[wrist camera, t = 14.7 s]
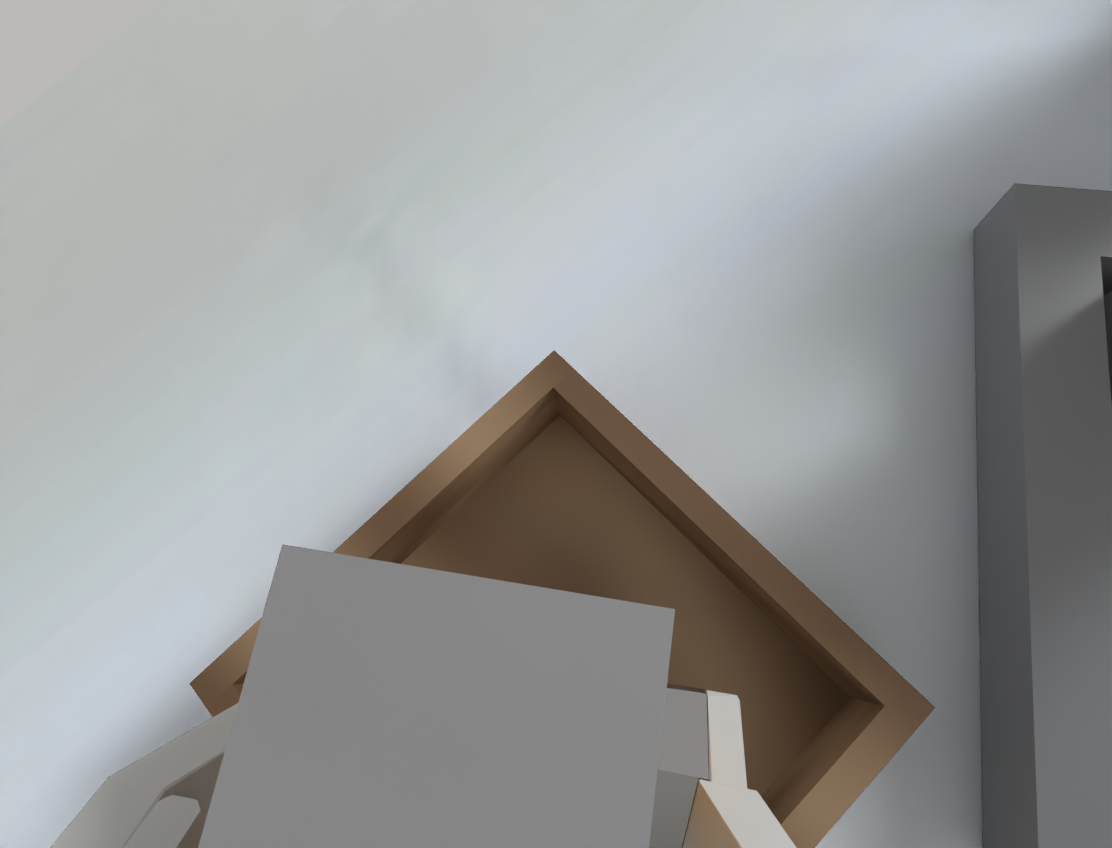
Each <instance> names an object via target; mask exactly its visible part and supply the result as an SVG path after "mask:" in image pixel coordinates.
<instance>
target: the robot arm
mask: <svg viewBox="0 0 1112 848" xmlns="http://www.w3.org/2000/svg"><path fill="white" fill-rule="evenodd" d="M237 706H238V703H237V704H235V705H234V706H232V707H230V708H228V709H227V710H225V711H223V712H221V713H220V714H218V715H216V716H214V717H213V718H211V719H209V720H207V721H206V722H204V723H202V724H200V725H199V726H197V727H195V728H194V729H192V730H190V731H188V732H187V733H185V734H183V735H181V736H180V737H178V738H176V739H174V740H173V741H171V742H169V743H167V744H166V745H164V746H162V747H160V748H159V749H157V750H155V751H153V752H152V753H150V754H148V755H147V756H145V757H143V758H141V759H140V760H138V761H136V762H134V763H133V764H131V765H129V766H127V767H126V768H124V769H122V770H120V771H119V772H117V773H115V774H113V775H112V776H110V777H108V778H107V780H106V781H105V782H104V783H103V784H102V786H101V787H100V788H99V789H98V791H97V792H96V793H95V794H94V795H93V797H92V798H91V799H90V800H89V801H88V803H87V804H86V805H85V806H84V807H83V809H82V810H81V811H80V812H79V814H78V815H77V816H76V817H75V818H74V820H73V821H72V822H71V823H70V824H69V826H68V827H67V828H66V829H65V830H64V832H63V833H62V834H61V835H60V836H59V838H58V839H57V840H56V841H55V843H54V844H53V845H52V846H51V847H50V848H198V846H199V843H200V839H201V835H202V832H203V828H204V825H205V821H206V817H207V814H208V810H209V807H210V803H211V799H212V796H213V792H214V789H215V785H216V781H217V778H218V774H219V771H220V767H221V763H222V760H223V756H224V753H225V749H226V746H227V742H228V738H229V735H230V731H231V728H232V724H233V720H234V717H235V713H236V710H237ZM649 847H652V848H796V846H795V845H794V843H793V842H792V840H791V839H790V838H789V836H788V835H787V833H786V832H785V830H784V829H783V827H782V826H781V825H780V823H779V822H778V820H777V819H776V817H775V816H774V815H773V813H772V812H771V810H770V809H769V807H768V806H767V804H766V803H765V802H764V800H763V799H762V797H761V796H760V794H759V793H758V792H757V791H756V790H751V789H747V780H746V768H745V756H744V744H743V732H742V720H741V708H740V700H739V698H738V696H737V695H732V694H726V693H721V692H715V691H709V690H706V691H705V690H704V689H699V688H693V687H687V686H681V685H675V684H669V683H667V689H666V698H665V707H664V716H663V725H662V735H661V744H660V753H659V762H658V771H657V780H656V789H655V798H654V807H653V817H652V826H651V835H650V844H649Z"/></svg>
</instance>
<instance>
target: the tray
mask: <svg viewBox="0 0 1112 848" xmlns="http://www.w3.org/2000/svg"><path fill="white" fill-rule="evenodd" d="M333 553H337V554H343V555H349V556H355V557H361V558H367V559H373V560H379V561H385V562H392V563H398V564H404V565H410V566H416V567H422V568H428V569H434V570H440V571H446V572H452V573H458V574H464V575H471V576H477V577H483V578H489V579H495V580H501V581H507V582H513V583H519V584H525V585H531V586H537V587H543V588H550V589H556V590H562V591H568V592H574V593H580V594H586V595H592V596H598V597H604V598H610V599H616V600H623V601H629V602H635V603H641V604H647V605H653V606H659V607H665V608H671V609H675V616H674V625H673V634H672V643H671V652H670V662H669V671H668V680H667V683H669V684H675V685H681V686H687V687H693V688H699V689H704V690H705V691H706V690H709V691H715V692H721V693H726V694H732V695H737V696H738V698H739V700H740V708H741V720H742V732H743V744H744V756H745V768H746V780H747V789H751V790H756V791H757V792H758V793H759V794H760V796H761V797H762V799H763V800H764V802H765V803H766V804H767V806H768V807H769V809H770V810H771V812H772V813H773V815H774V816H775V817H776V819H777V820H778V822H779V823H780V825H781V826H782V827H783V829H784V830H785V832H786V833H787V835H788V836H789V838H790V839H791V840H792V842H793V843H794V845H795V846H796V848H815V846H816V845H817V844H818V843H819V842H820V841H821V839H822V838H823V837H824V836H825V835H826V834H827V832H828V831H829V830H830V829H831V828H832V827H833V826H834V824H835V823H836V822H837V821H838V820H839V819H840V817H841V816H842V815H843V814H844V813H845V812H846V810H847V809H848V808H849V807H850V806H851V805H852V803H853V802H854V801H855V800H856V799H857V798H858V796H859V795H860V794H861V793H862V792H863V791H864V790H865V788H866V787H867V786H868V785H869V784H870V783H871V781H872V780H873V779H874V778H875V777H876V776H877V774H878V773H879V772H880V771H881V770H882V769H883V767H884V766H885V765H886V764H887V763H888V762H889V761H890V759H891V758H892V757H893V756H894V755H895V754H896V752H897V751H898V750H899V749H900V748H901V747H902V745H903V744H904V743H905V742H906V741H907V740H908V738H909V737H910V736H911V735H912V734H913V733H914V731H915V730H916V729H917V728H918V727H919V726H920V725H921V723H922V722H923V721H924V720H925V719H926V718H927V716H928V715H929V714H930V713H931V712H932V711H933V709H934V708H935V707H934V706H933V705H932V704H931V703H930V702H929V701H928V700H927V699H926V698H924V697H923V696H922V695H921V694H920V693H919V692H918V691H917V690H916V689H915V688H914V687H913V686H912V685H911V684H910V683H908V682H907V681H906V680H905V679H904V678H903V677H902V676H901V675H900V674H899V673H898V672H897V671H896V670H895V669H894V668H892V667H891V666H890V665H889V664H888V663H887V662H886V661H885V660H884V659H883V658H882V657H881V656H880V655H879V654H878V653H876V652H875V651H874V650H873V649H872V648H871V647H870V646H869V645H868V644H867V643H866V642H865V641H864V640H863V639H862V638H860V637H859V636H858V635H857V634H856V633H855V632H854V631H853V630H852V629H851V628H850V627H849V626H848V625H847V624H846V623H844V622H843V621H842V620H841V619H840V618H839V617H838V616H837V615H836V614H835V613H834V612H833V611H832V610H831V609H830V608H828V607H827V606H826V605H825V604H824V603H823V602H822V601H821V600H820V599H819V598H818V597H817V596H816V595H815V594H814V593H812V592H811V591H810V590H809V589H808V588H807V587H806V586H805V585H804V584H803V583H802V582H801V581H800V580H799V579H798V578H796V577H795V576H794V575H793V574H792V573H791V572H790V571H789V570H788V569H787V568H786V567H785V566H784V565H783V564H781V563H780V562H779V561H778V560H777V559H776V558H775V557H774V556H773V555H772V554H771V553H770V552H769V551H768V550H767V549H765V548H764V547H763V546H762V545H761V544H760V543H759V542H758V541H757V540H756V539H755V538H754V537H753V536H752V535H751V534H749V533H748V532H747V531H746V530H745V529H744V528H743V527H742V526H741V525H740V524H739V523H738V522H737V521H736V520H735V519H733V518H732V517H731V516H730V515H729V514H728V513H727V512H726V511H725V510H724V509H723V508H722V507H721V506H720V505H719V504H717V503H716V502H715V501H714V500H713V499H712V498H711V497H710V496H709V495H708V494H707V493H706V492H705V491H704V490H703V489H701V488H700V487H699V486H698V485H697V484H696V483H695V482H694V481H693V480H692V479H691V478H690V477H689V476H688V475H687V474H685V473H684V472H683V471H682V470H681V469H680V468H679V467H678V466H677V465H676V464H675V463H674V462H673V461H672V460H671V459H669V458H668V457H667V456H666V455H665V454H664V453H663V452H662V451H661V450H660V449H659V448H658V447H657V446H656V445H655V444H653V443H652V442H651V441H650V440H649V439H648V438H647V437H646V436H645V435H644V434H643V433H642V432H641V431H640V430H639V429H637V428H636V427H635V426H634V425H633V424H632V423H631V422H630V421H629V420H628V419H627V418H626V417H625V416H624V415H623V414H621V413H620V412H619V411H618V410H617V409H616V408H615V407H614V406H613V405H612V404H611V403H610V402H609V401H608V400H607V399H605V398H604V397H603V396H602V395H601V394H600V393H599V392H598V391H597V390H596V389H595V388H594V387H593V386H592V385H591V384H589V383H588V382H587V381H586V380H585V379H584V378H583V377H582V376H581V375H580V374H579V373H578V372H577V371H576V370H575V369H573V368H572V367H571V366H570V365H569V364H568V363H567V362H566V361H565V360H564V359H563V358H562V357H561V356H560V355H559V354H557V353H556V352H555V351H553V352H552V353H551V354H550V355H549V356H547V357H546V358H545V359H544V360H543V361H542V362H541V363H540V364H539V365H538V366H536V367H535V368H534V369H533V370H532V371H531V372H530V373H529V374H528V375H527V376H526V377H524V378H523V379H522V380H521V381H520V382H519V383H518V384H517V385H516V386H515V387H513V388H512V389H511V390H510V391H509V392H508V393H507V394H506V395H505V396H504V397H503V398H501V399H500V400H499V401H498V402H497V403H496V404H495V405H494V406H493V407H492V408H491V409H489V410H488V411H487V412H486V413H485V414H484V415H483V416H482V417H481V418H480V419H478V420H477V421H476V422H475V423H474V424H473V425H472V426H471V427H470V428H469V429H468V430H466V431H465V432H464V433H463V434H462V435H461V436H460V437H459V438H458V439H457V440H455V441H454V442H453V443H452V444H451V445H450V446H449V447H448V448H447V449H446V450H445V451H443V452H442V453H441V454H440V455H439V456H438V457H437V458H436V459H435V460H434V461H433V462H431V463H430V464H429V465H428V466H427V467H426V468H425V469H424V470H423V471H422V472H420V473H419V474H418V475H417V476H416V477H415V478H414V479H413V480H412V481H411V482H410V483H408V484H407V485H406V486H405V487H404V488H403V489H402V490H401V491H400V492H399V493H397V494H396V495H395V496H394V497H393V498H392V499H391V500H390V501H389V502H388V503H387V504H385V505H384V506H383V507H382V508H381V509H380V510H379V511H378V512H377V513H376V514H374V515H373V516H372V517H371V518H370V519H369V520H368V521H367V522H366V523H365V524H364V525H362V526H361V527H360V528H359V529H358V530H357V531H356V532H355V533H354V534H353V535H352V536H350V537H349V538H348V539H347V540H346V541H345V542H344V543H343V544H342V545H341V546H339V547H338V548H337V549H336V550H335V551H334V552H333ZM261 620H262V618H261V619H260V620H258V621H257V622H256V623H255V624H254V625H253V626H252V627H251V628H250V629H249V630H248V631H246V632H245V633H244V634H243V635H242V636H241V637H240V638H239V639H238V640H237V641H236V642H234V643H233V644H232V645H231V646H230V647H229V648H228V649H227V650H226V651H225V652H223V653H222V654H221V655H220V656H219V657H218V658H217V659H216V660H215V661H214V662H213V663H211V664H210V665H209V666H208V667H207V668H206V669H205V670H204V671H203V672H202V673H200V674H199V675H198V676H197V677H196V678H195V679H194V680H193V681H192V682H191V683H190V685H191V686H192V688H193V689H194V690H195V692H196V693H197V695H198V696H199V698H200V699H201V700H202V702H203V703H204V705H205V706H206V708H207V709H208V711H209V712H210V713H211V715H212V716H213V717H214V716H216V715H218V714H220V713H221V712H223V711H225V710H227V709H228V708H230V707H232V706H234V705H235V704H237V703H238V702H239V699H240V695H241V692H242V688H243V684H244V681H245V677H246V674H247V670H248V666H249V663H250V659H251V656H252V652H253V648H254V645H255V641H256V638H257V634H258V630H259V627H260V623H261ZM649 848H652V847H649Z"/></svg>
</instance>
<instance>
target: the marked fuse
mask: <svg viewBox="0 0 1112 848" xmlns="http://www.w3.org/2000/svg"><path fill="white" fill-rule="evenodd" d="M674 616H675V609H671V608H665V607H659V606H653V605H647V604H641V603H635V602H629V601H623V600H616V599H610V598H604V597H598V596H592V595H586V594H580V593H574V592H568V591H562V590H556V589H550V588H543V587H537V586H531V585H525V584H519V583H513V582H507V581H501V580H495V579H489V578H483V577H477V576H471V575H464V574H458V573H452V572H446V571H440V570H434V569H428V568H422V567H416V566H410V565H404V564H398V563H392V562H385V561H379V560H373V559H367V558H361V557H355V556H349V555H343V554H337V553H331V552H325V551H319V550H313V549H306V548H300V547H294V546H288V545H282V548H281V551H280V555H279V558H278V562H277V566H276V569H275V573H274V576H273V580H272V584H271V587H270V591H269V594H268V598H267V602H266V605H265V609H264V612H263V616H262V620H261V623H260V627H259V630H258V634H257V638H256V641H255V645H254V648H253V652H252V656H251V659H250V663H249V666H248V670H247V674H246V677H245V681H244V684H243V688H242V692H241V695H240V699H239V702H238V706H237V710H236V713H235V717H234V720H233V724H232V728H231V731H230V735H229V738H228V742H227V746H226V749H225V753H224V756H223V760H222V763H221V767H220V771H219V774H218V778H217V781H216V785H215V789H214V792H213V796H212V799H211V803H210V807H209V810H208V814H207V817H206V821H205V825H204V828H203V832H202V835H201V839H200V843H199V846H198V848H649V844H650V835H651V826H652V817H653V807H654V798H655V789H656V780H657V771H658V762H659V753H660V744H661V735H662V725H663V716H664V707H665V698H666V689H667V680H668V671H669V662H670V652H671V643H672V634H673V625H674Z"/></svg>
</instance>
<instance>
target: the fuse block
mask: <svg viewBox="0 0 1112 848" xmlns="http://www.w3.org/2000/svg"><path fill="white" fill-rule="evenodd" d="M974 276H975V343H976V409H977V476H978V542H979V609H980V675H981V742H982V808H983V848H1112V403H1111V389H1110V376H1109V363H1108V350H1107V336H1106V323H1105V310H1104V296H1105V295H1107V294H1108V293H1110V292H1111V291H1112V191H1101V190H1089V189H1076V188H1064V187H1052V186H1039V185H1027V184H1014V185H1013V186H1012V187H1011V188H1010V189H1009V191H1008V192H1007V193H1006V194H1005V195H1004V196H1003V197H1002V198H1001V200H1000V201H999V202H998V203H997V204H996V205H995V206H994V208H993V209H992V210H991V211H990V212H989V213H988V214H987V215H986V217H985V218H984V219H983V220H982V221H981V222H980V223H979V225H978V226H977V227H976V228H975V229H974Z"/></svg>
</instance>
